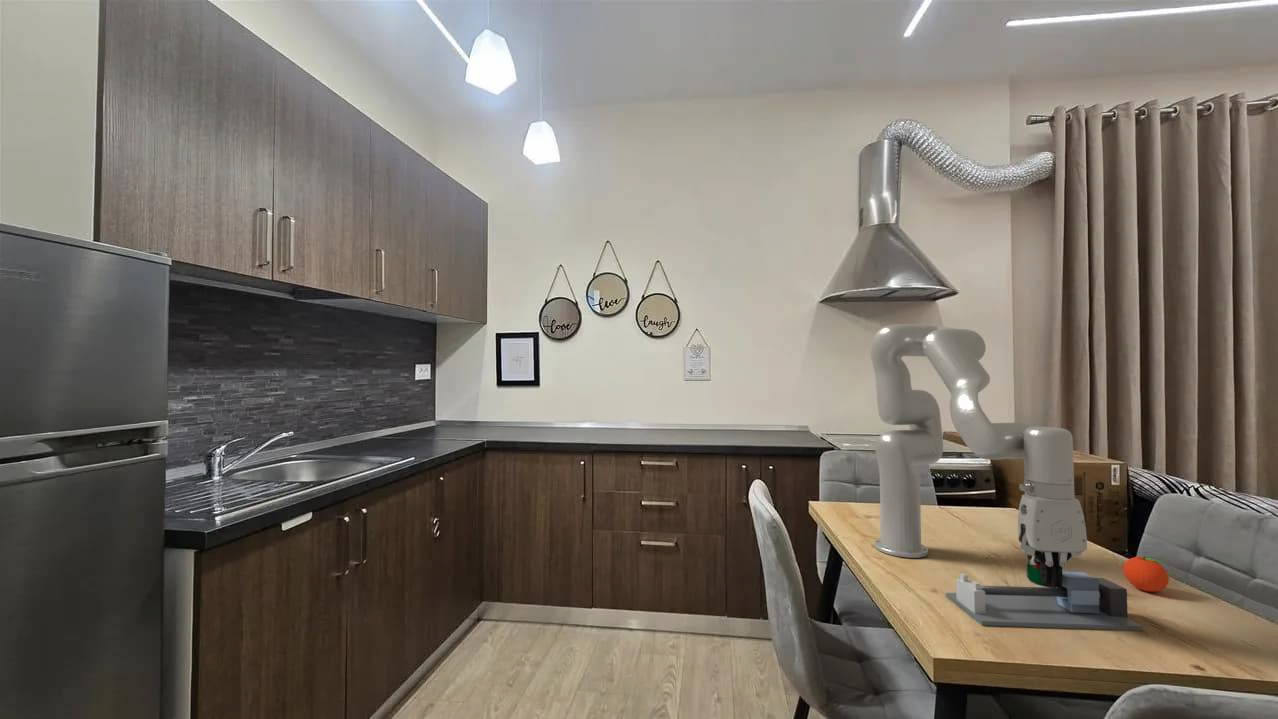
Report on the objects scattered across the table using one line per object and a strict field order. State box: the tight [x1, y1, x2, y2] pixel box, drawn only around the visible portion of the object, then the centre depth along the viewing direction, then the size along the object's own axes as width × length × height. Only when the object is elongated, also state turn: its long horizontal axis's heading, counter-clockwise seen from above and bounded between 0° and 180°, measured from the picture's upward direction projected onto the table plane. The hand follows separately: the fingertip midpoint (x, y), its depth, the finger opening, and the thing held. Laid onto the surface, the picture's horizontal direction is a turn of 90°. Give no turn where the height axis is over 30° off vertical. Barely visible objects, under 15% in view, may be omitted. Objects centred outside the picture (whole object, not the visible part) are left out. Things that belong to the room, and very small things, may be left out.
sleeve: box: [1054, 569, 1099, 613], centre depth 96 cm, size 5×4×6 cm
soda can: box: [1025, 548, 1049, 587], centre depth 111 cm, size 5×5×12 cm
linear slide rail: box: [945, 573, 1144, 632], centre depth 96 cm, size 28×12×6 cm, turn 86°
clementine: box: [1122, 556, 1174, 593], centre depth 106 cm, size 8×7×7 cm
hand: (1051, 584), depth 96 cm, fingers closed
